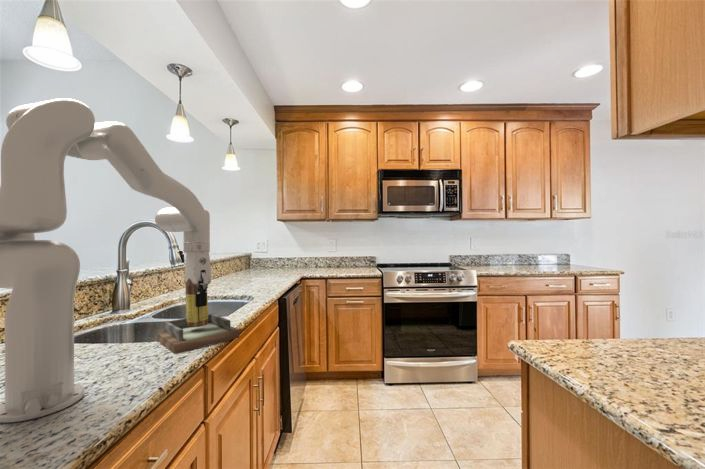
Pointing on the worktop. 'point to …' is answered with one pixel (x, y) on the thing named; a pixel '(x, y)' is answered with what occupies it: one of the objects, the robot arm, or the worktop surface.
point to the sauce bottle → (194, 307)
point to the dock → (196, 334)
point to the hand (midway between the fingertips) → (196, 304)
